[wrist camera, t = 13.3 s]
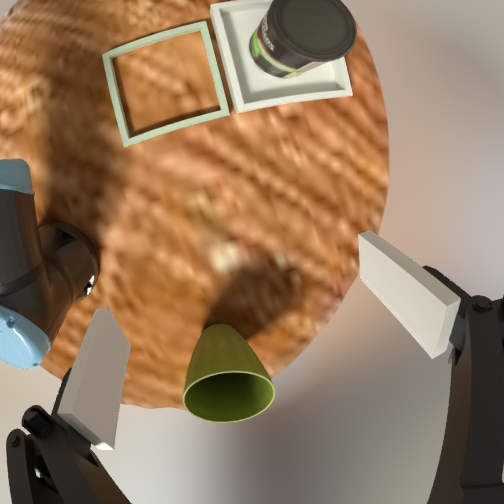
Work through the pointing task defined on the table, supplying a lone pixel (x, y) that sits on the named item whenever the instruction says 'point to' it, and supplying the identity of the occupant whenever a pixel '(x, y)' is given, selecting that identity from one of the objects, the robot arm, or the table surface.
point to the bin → (256, 82)
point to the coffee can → (301, 36)
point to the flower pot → (226, 378)
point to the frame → (147, 41)
